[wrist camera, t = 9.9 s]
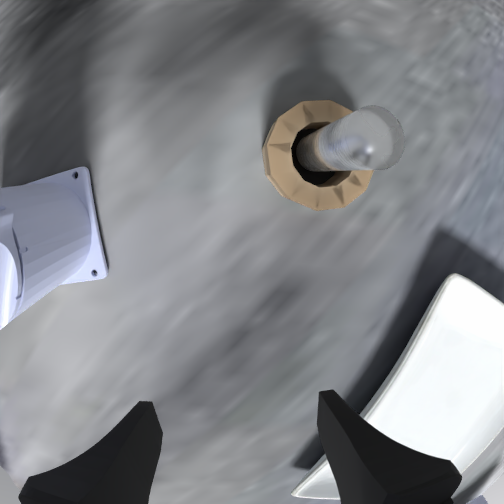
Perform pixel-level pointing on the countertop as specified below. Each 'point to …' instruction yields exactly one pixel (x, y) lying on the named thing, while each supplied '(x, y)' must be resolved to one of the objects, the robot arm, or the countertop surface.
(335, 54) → the countertop surface
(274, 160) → the wooden bead
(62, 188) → the robot arm
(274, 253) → the countertop surface
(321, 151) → the cylindrical metal peg
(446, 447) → the square plate
